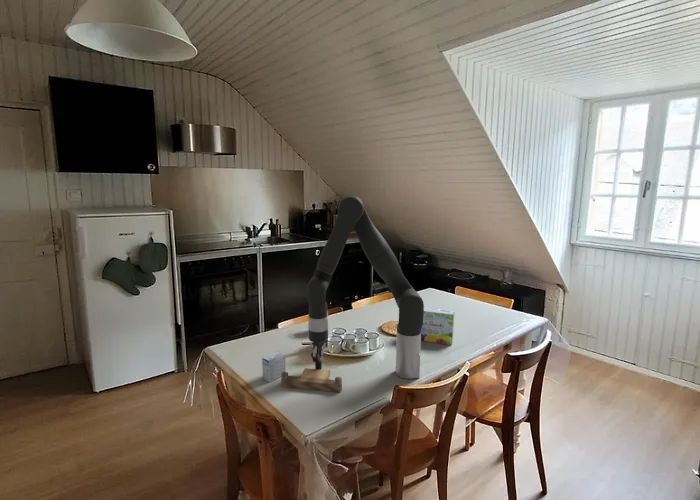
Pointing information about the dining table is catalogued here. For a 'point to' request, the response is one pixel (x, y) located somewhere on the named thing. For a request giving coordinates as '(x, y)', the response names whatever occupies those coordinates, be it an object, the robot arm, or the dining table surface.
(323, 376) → the light wooden block
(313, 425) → the dining table surface
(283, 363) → the medicine box
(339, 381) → the bar
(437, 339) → the snack box
